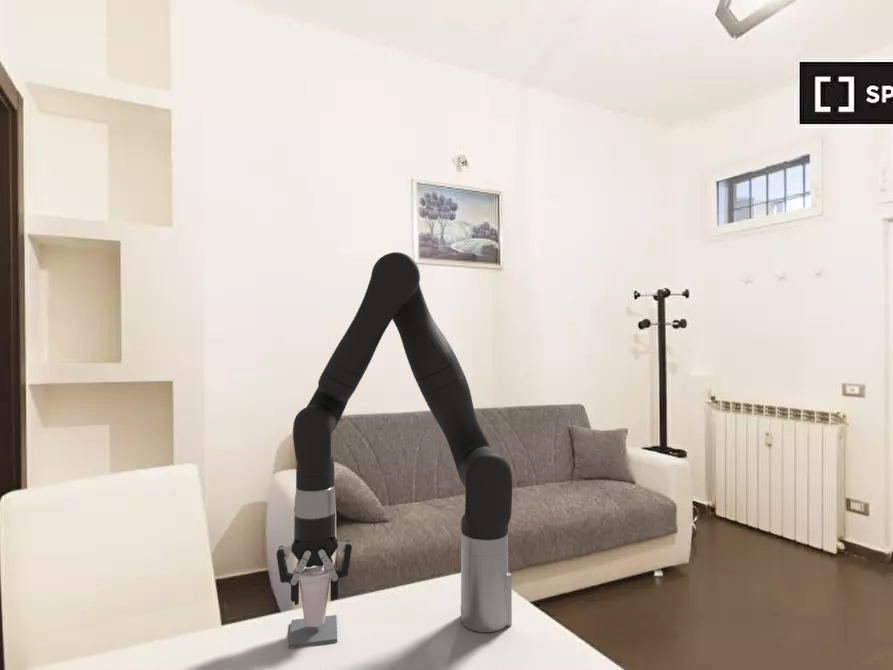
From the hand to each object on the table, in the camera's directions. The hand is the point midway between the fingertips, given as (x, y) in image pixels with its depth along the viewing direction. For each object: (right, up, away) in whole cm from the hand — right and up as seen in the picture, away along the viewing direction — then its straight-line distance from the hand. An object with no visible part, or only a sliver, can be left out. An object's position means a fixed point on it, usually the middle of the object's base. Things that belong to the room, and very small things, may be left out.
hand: (314, 600), depth 96 cm
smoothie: (0, -4, 0) cm, 4 cm away
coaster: (0, -6, 0) cm, 6 cm away
